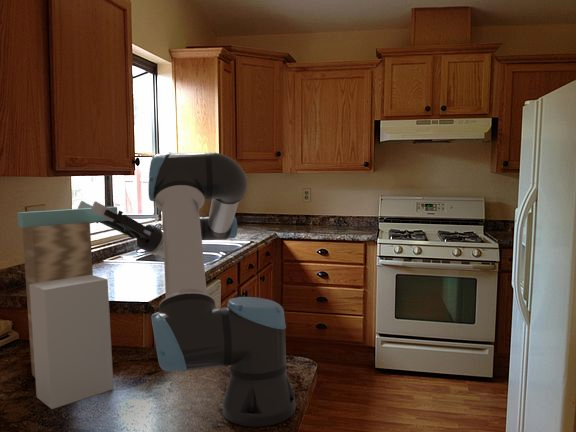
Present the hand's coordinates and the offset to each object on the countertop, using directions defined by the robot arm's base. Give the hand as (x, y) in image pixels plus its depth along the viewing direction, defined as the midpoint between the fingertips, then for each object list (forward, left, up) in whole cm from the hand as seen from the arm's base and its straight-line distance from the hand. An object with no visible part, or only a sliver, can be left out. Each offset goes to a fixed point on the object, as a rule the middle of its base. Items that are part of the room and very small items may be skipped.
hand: (86, 205), depth 134 cm
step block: (-18, +9, -42) cm, 47 cm away
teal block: (-1, +4, -4) cm, 6 cm away
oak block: (-1, +8, -42) cm, 43 cm away
